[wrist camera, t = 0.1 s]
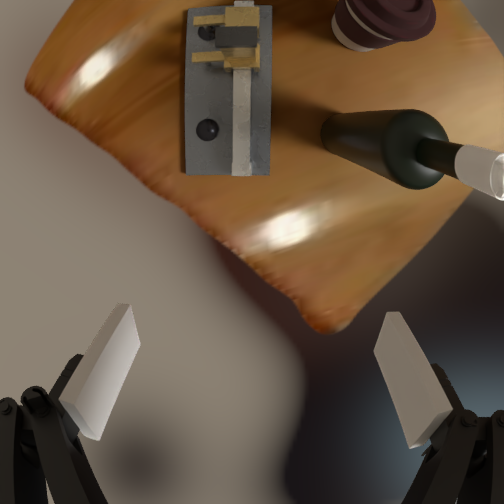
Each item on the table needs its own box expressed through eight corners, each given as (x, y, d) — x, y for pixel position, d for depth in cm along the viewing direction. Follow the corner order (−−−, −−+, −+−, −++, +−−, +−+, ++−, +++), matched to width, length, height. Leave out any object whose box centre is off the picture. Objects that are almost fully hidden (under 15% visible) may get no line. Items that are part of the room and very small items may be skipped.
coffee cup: (319, 53, 31) (352, 17, 17) (321, -6, 27) (349, -57, 13) (388, 68, 31) (447, 49, 17) (388, 11, 27) (439, -25, 13)
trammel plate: (189, 11, 28) (178, -5, 23) (271, 8, 28) (273, -10, 23) (187, 173, 38) (176, 182, 33) (269, 174, 38) (270, 182, 33)
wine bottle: (312, 138, 36) (446, 187, 9) (335, 105, 34) (504, 86, 7) (345, 163, 37) (502, 263, 10) (368, 131, 35) (552, 175, 8)
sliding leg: (199, 53, 30) (173, 26, 19) (259, 52, 30) (259, 21, 19) (198, 74, 32) (172, 54, 21) (259, 73, 31) (259, 50, 20)
